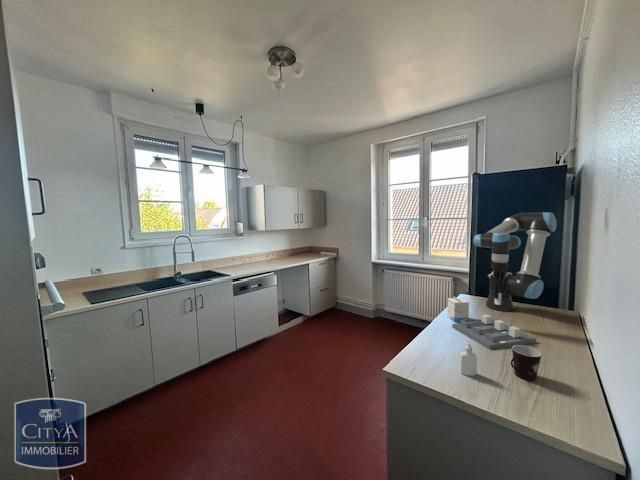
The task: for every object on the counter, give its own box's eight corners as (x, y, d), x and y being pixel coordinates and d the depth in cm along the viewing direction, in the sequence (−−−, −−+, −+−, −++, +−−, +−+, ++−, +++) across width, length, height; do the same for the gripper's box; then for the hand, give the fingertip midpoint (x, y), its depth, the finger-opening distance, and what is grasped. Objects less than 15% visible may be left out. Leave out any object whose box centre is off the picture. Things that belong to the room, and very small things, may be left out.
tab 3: (513, 334, 127) (514, 326, 126) (519, 336, 124) (519, 328, 124) (508, 334, 126) (509, 326, 126) (514, 337, 123) (514, 329, 123)
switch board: (492, 322, 146) (492, 315, 146) (535, 342, 123) (536, 333, 123) (452, 327, 141) (452, 319, 141) (489, 349, 118) (489, 340, 117)
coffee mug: (529, 369, 102) (530, 345, 101) (546, 383, 93) (547, 357, 92) (497, 368, 103) (498, 344, 102) (511, 382, 94) (512, 356, 94)
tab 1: (486, 321, 142) (486, 314, 142) (491, 323, 139) (491, 316, 139) (481, 322, 142) (482, 314, 141) (486, 324, 139) (486, 317, 138)
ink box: (468, 322, 148) (469, 299, 147) (454, 322, 148) (454, 299, 147) (461, 316, 156) (461, 294, 155) (447, 316, 156) (447, 295, 155)
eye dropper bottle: (461, 368, 104) (462, 339, 103) (477, 373, 100) (478, 343, 99) (458, 373, 100) (459, 343, 99) (474, 378, 97) (475, 348, 96)
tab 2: (499, 327, 135) (499, 320, 134) (504, 329, 132) (504, 322, 131) (494, 328, 134) (494, 320, 134) (499, 330, 131) (499, 322, 131)
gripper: (503, 259, 144) (501, 301, 146) (483, 260, 141) (481, 303, 143) (516, 262, 137) (513, 305, 139) (495, 263, 134) (493, 307, 136)
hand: (497, 304), depth 141 cm, fingers closed
